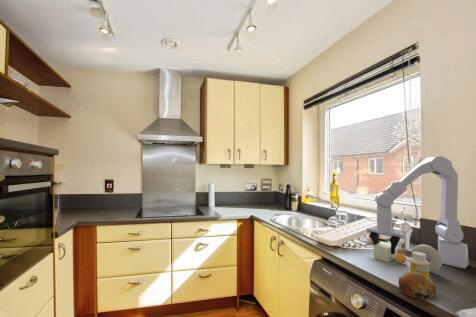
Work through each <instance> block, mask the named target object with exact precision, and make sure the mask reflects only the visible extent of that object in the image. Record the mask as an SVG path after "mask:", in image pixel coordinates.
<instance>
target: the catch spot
mask: <svg viewBox="0 0 476 317" xmlns="http://www.w3.org/2000/svg"><path fill="white" fill-rule="evenodd" d="M405 257H406V259H407V260H406V262H410V259H411V258H412V256H408V255H405Z"/></svg>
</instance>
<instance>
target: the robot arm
mask: <svg viewBox="0 0 476 317" xmlns="http://www.w3.org/2000/svg"><path fill="white" fill-rule="evenodd" d="M452 162H453V161H451V160H450V159H448V158H447V157H446V156H442V155H439V156H437V155H436V156H429V157H426V158H424V160H422V161H420V162H419V163H418V164H417V165H415V166H414V168H412V169H411V170H410V171H409V172H408V173H406V175H404V177H403V178H401V179H400V180H395V181H391V182H390V185H388V186H387V187H386V188H385V189H382V190H381V192H379V193H377V194H376V195H375V198H374V201H375V203H376V228H374V227H366V233H369V237H370V239H371V240H372V243H373V246H374V245H376V244H378V243H380V242H379V240H380V235H381V236H387V237H389V240H390V243H391V254H395V249H396V250H397V244H398V242H399V240H400V238H401V239H403V238H404V233H399V232H395V231H394V230H393V229H392V227H393V217H392V216H393V215H392V213H393V212H392V211H393V210H392V206H393V205H394V203H395V202H394V201H396V200H397V199H398V198H399V197H400V196H401V195H403V194H404V193H405V192H407V191H408V190H407V189H408V186H409V185H410V184H411V183H412V182H414V181H416V180H417V179H419V178H420V177H421V176H422V175H424V174H430V173H432V174H435V176H437V177H438V178H439V179H441V185H440V188H441V190H440V191H441V192H440V216H439V218H438V219H437V224H436V225H435V228H434V230H435V233H436V235H437V236H438V238H437V251H438V253H439V254H440V256H441V258H442V265H447V266H452V267H456V268H461V269H466V268H467V267H468V266H469V249H468V247H469V246H468V244H467V243H463V242H462V240H463V239H464V235H465V234H464V231H463V230H462V225H461V223H460V221H459V220H458V198H459V196H458V193H459V192H458V190H459V189H458V188H459V175H458V173H457V171H456V169H455V168H454V166H453V164H452Z"/></svg>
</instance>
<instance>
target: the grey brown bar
mask: <svg viewBox="0 0 476 317" xmlns="http://www.w3.org/2000/svg"><path fill="white" fill-rule="evenodd" d="M399 253H401V254H403V255H405V256H407V257H412V256H411V253H412V250H409V249H408V250H404V249H399V248H397V247H396V254H399ZM427 256H428V255H427V254H426V257H427ZM427 259H428V257H427V258H426V260H427Z"/></svg>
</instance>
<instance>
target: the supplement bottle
mask: <svg viewBox="0 0 476 317" xmlns="http://www.w3.org/2000/svg"><path fill="white" fill-rule="evenodd" d="M412 256H413V258H411V259H410V261H409V264H410V270H409V272H418V273H421V274H423V275H425V276H427V277H428V278H430V272H429V261H428V260H427V259H428V257H426V254H425V253H422V252H412ZM412 256H411V257H412ZM426 258H427V259H426Z"/></svg>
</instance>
